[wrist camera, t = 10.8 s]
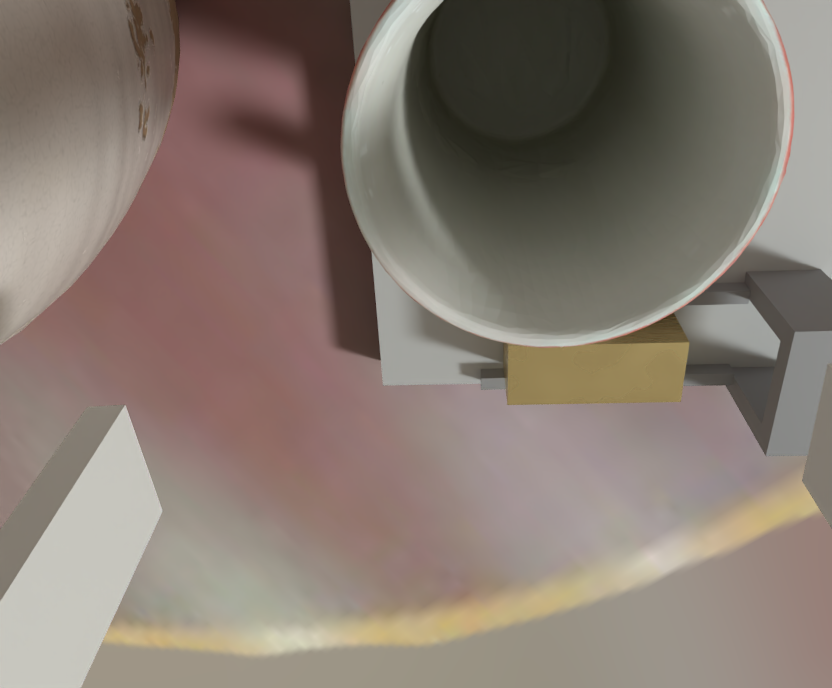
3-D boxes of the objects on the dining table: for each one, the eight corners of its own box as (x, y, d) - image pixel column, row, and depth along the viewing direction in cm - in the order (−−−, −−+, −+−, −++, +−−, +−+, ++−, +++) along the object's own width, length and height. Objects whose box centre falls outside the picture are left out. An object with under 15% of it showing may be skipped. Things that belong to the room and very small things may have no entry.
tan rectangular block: (503, 363, 34) (507, 404, 31) (503, 308, 32) (508, 346, 30) (661, 360, 33) (680, 402, 30) (669, 304, 32) (689, 342, 29)
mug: (511, 219, 30) (548, 417, 18) (337, 56, 27) (251, 169, 16) (786, -41, 25) (1078, 7, 13) (609, -275, 22) (783, -473, 10)
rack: (386, 368, 37) (373, 461, 30) (337, -229, 25) (300, -272, 19) (787, 359, 35) (857, 454, 29) (934, -270, 24) (1103, -332, 18)
